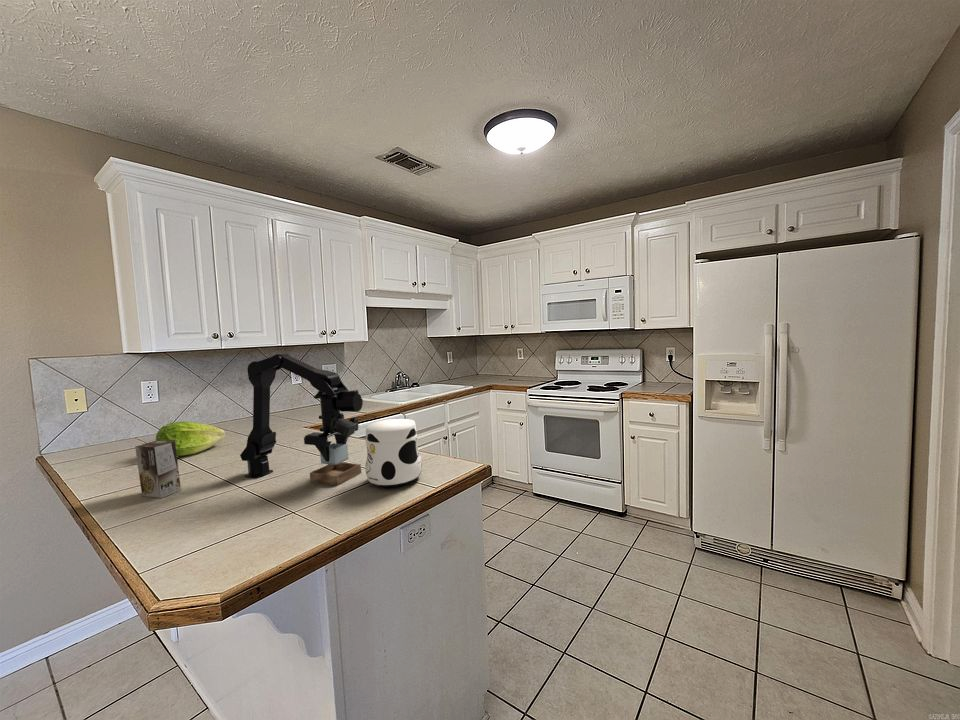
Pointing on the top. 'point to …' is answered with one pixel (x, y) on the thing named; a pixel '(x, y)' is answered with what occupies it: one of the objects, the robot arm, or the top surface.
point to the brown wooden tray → (335, 473)
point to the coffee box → (158, 468)
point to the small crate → (336, 454)
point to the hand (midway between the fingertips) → (334, 458)
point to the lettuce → (190, 436)
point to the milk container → (392, 452)
